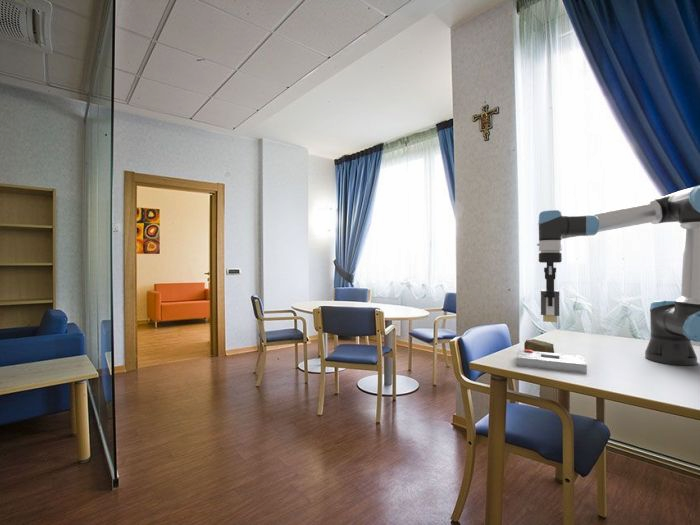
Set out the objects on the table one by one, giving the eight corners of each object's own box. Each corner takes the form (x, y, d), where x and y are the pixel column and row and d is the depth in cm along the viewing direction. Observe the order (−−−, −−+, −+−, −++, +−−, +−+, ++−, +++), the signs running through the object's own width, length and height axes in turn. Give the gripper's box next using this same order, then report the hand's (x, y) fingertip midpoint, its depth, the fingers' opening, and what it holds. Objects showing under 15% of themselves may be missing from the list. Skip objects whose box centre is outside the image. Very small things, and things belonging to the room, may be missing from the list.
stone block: (533, 349, 160) (533, 338, 160) (555, 356, 149) (555, 344, 149) (523, 350, 158) (523, 339, 158) (544, 357, 147) (544, 345, 147)
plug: (558, 320, 137) (558, 290, 137) (559, 322, 133) (559, 291, 132) (540, 319, 140) (540, 289, 140) (540, 321, 135) (540, 290, 135)
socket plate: (583, 363, 137) (583, 354, 137) (586, 373, 125) (586, 362, 125) (518, 357, 147) (518, 348, 147) (516, 365, 136) (516, 355, 136)
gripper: (539, 252, 146) (539, 310, 146) (538, 251, 130) (538, 316, 130) (560, 252, 142) (560, 311, 142) (562, 251, 126) (562, 318, 126)
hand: (550, 313), depth 136 cm, fingers closed on plug, 5 cm apart
